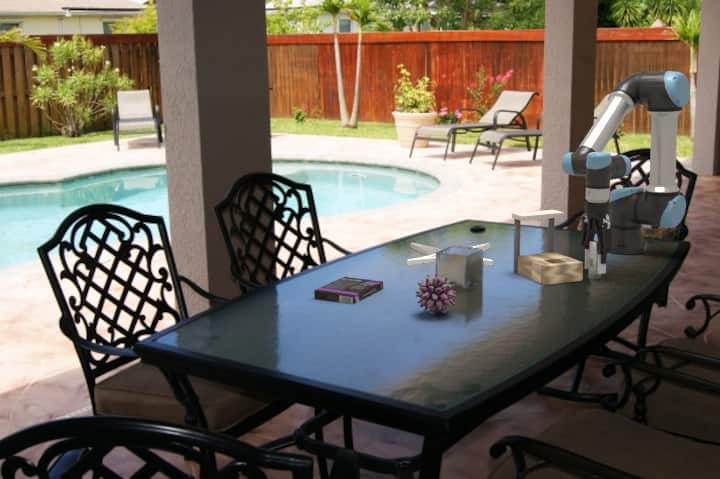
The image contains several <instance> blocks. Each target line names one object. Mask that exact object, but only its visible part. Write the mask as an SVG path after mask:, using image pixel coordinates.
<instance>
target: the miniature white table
mask: <svg viewBox="0 0 720 479" xmlns="http://www.w3.org/2000/svg"><path fill="white" fill-rule="evenodd" d="M511 218H512V219H514V222H513V227H514V228H513V273H514V274H518V256H521V222H524V221H526V222H527V221H534V220H535V221H536V220H546V219H548V223H547V224H548V226H547V230H548V231H547V233H548V234H547V253H549V252H555V222H556V221H555V219H557V218H559V219H561V218H565V212H564V211H560V210H556V209H546V210H535V211H534V210H533V211H522V212H512V213H511Z"/></svg>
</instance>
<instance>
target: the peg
mask: <svg viewBox="0 0 720 479" xmlns="http://www.w3.org/2000/svg"><path fill="white" fill-rule="evenodd" d="M599 252H600V251H599V245H598V239H594V240H590V247H589V269H588V278H589V279H592V280H593V279H594V280H599V278H600V279H602V274H597V265H598V253H599Z"/></svg>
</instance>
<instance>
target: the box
mask: <svg viewBox="0 0 720 479" xmlns="http://www.w3.org/2000/svg"><path fill="white" fill-rule="evenodd" d="M383 289H384V281H382V280H372V279H368V278H366V279H365V278H359V277H358V278H356V277H349V276H343V277H341V278H339V279H335V280H334V281H332V282H329V283H327V284H324V285H323V286H321V287H320V286H319V287H318V288H316V289H314V290H313V291H314V292H313V293H314V300H319V301H326V302H336V303H343V304H350V305H351V304H352V305H354V304H357V303H359V302H361V301H363V300H365V299H367V298H368V297H371V296H373V295H374V294H376V293H378V292H380V291H383Z"/></svg>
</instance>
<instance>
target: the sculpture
mask: <svg viewBox="0 0 720 479" xmlns="http://www.w3.org/2000/svg"><path fill="white" fill-rule="evenodd" d="M470 247H473V248H479V249H482V250H483V251H482V252H484V251H486V250H489V249H491V243H490V242H486V243H482V244H477V245H473V246H470ZM410 249H413V250H414V251H416V250H417V252H418V253H421V254H423V256H418V257H413V258H409V259H407V260H406V266H407V265H409V266H415V265H414V264H418V265H423V264H422V263H428V264H431V263H430V262H435V260H436V252H437V251H440V250H443V249H444V248H438V247H433V246H429V245H424V244H420V243H415V242H411V243H410ZM425 254H426V255H425ZM427 255H428V256H427ZM482 258H483V262H484V264H485V265H484V266H488V265H490V266H489V267H493V266H494V260H493V259H489V258H484V257H482Z"/></svg>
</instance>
